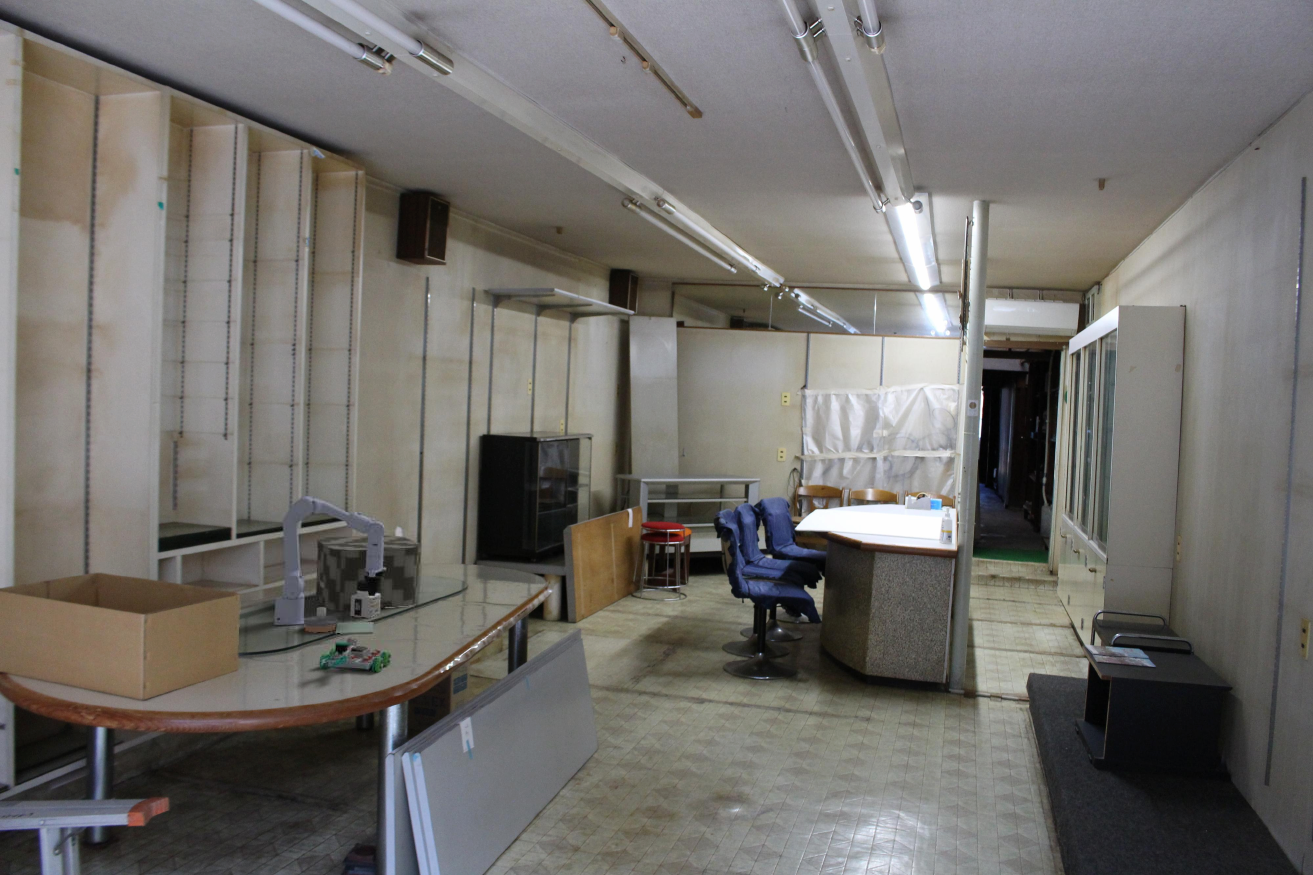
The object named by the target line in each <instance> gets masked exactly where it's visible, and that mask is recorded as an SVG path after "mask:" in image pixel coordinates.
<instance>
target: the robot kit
mask: <svg viewBox="0 0 1313 875" xmlns="http://www.w3.org/2000/svg"><path fill="white" fill-rule="evenodd" d="M334 645H335V646H334V647H333V648H331V649H330V651H329V653H322V654H321V655H320V658H319V662H318V663H319V668H320V669H329V668H330V667H336V668H338V667H339V668H350V669H351V668H352V669H365V670H370V668H371V669H372V672H373V673H375V672H376V673H380V672H382V670H383V667H388V665H389V666H390V664H391V661H392V653H391V652H389V651H383V652H382V651H381V649H378V648H375V649H374V650H372V651H371V648H370V647H367V646H361V645H358V640H357V638H354V637H353V636H352V637H351V636H350V637H348V638H347V639H346V641H337V642H335V643H334Z"/></svg>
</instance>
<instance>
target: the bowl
mask: <svg viewBox="0 0 1313 875" xmlns="http://www.w3.org/2000/svg"><path fill="white" fill-rule="evenodd" d="M336 627H337V623H336V624H333V625H327V626H310V625H306V624H305V628H304V629H305V632H307V631H308V633H312V632H313V634H318V633H317V632H327V633H329V632H328V631H331V632H333V631H332V630H335V631H336V629H335V628H336Z"/></svg>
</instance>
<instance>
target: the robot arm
mask: <svg viewBox="0 0 1313 875" xmlns="http://www.w3.org/2000/svg"><path fill="white" fill-rule="evenodd" d="M313 512H314V515H319V514H326V515H328V516H330V517H333V518H335V519H339V520H341V521H343V522H344V523H346V526H347V527H348V528H350V529H352V530H355V531H357V532H359V533H361V534H363V535H364V534H366V536H368V542H367V555H366V568H365V570H366V571H367V574H368V576H366V575H365V576H364V579H365V581H366V584H367V588H368V594H369V596H375V594H376V592H377V591H378V587H379V582H380V579H381V576H382V574H383V572H384V571H383V570H386V568H383V549H384V543H383V541H384V537H383V535H385V530H386V529H385V528H386V527H385V526H384V524H383V523H382V521H380V520H375V518H373V517H372V518H370V517H367V516H365V515H363V512H361V511H358V512H356V511H353V512H351V513H350V512H347V511H345V510H343V509H341V508H339V507H337V506H336V505H333V504H331V503H329V502H327V501H326V500H322V499H320V498H318V497H317V498H316V497H315V498H314V497H313V496H310V495H303V496H301V497H299V499H297V500H296V501H295V502H294V503H293V504H291V506H290V508H289V509H288V511H287V512H286V514H285V515H284V517H283V519H282V531H283V550H284V564H285V566H284V567H285V572H284V584H283V585H282V589H281V590H282V593H283V594H282V595H281V596H279V597H276V598H275V604H274V617H273V619H274V623H273V625H275V626H283V625H285V626H287V625H289V626H290V625H293V626H294V625H305V624H304V619H306V617H305V596H306V595H305V594H304V593H303V590H304V589H305V587H306V581H305V580H304V578H303V575H302V569H301V556H300V542H299V525H298V524H299V523H300V522H301V521H302V520H303V519H305V518H306V517H308V516H310V515H312V513H313Z"/></svg>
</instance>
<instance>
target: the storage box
mask: <svg viewBox="0 0 1313 875" xmlns="http://www.w3.org/2000/svg"><path fill="white" fill-rule="evenodd" d="M383 537H384V541H383V543H384V549H383V568H386V570H383V571H384V572H383V574H382V576H381V579H380V582H379V587H378V591H377V592H376V593H380V594H381V598H380V608H385V607H398V606H409V605H414V604H416V603H417V602H418V600H419V599H418V596H419V570H420V553H421V548H422V547H421V546H422V543H419V542H417V541H414V540H411V539H409V538H407V537H404V536H399V535H386V534H384V535H383ZM367 542H368V535H358V536H357V535H355V536H353V535H352V536H331V537H330V536H329V537H322V538H317V539H316V548H317V555H316V556H317V558H316V560H317V562H316V583H315V584H316V586H315V587H316V588H315V600H316V601H317V602H318V603H320V604H321V605H322V606H323V607H326V609H327V610H329V609H330V610H329V611H333V610H337V611H336V612H342V611H351V596H352V595H355V594H358V593H357V582H358V581H360V580H363V579H364V576H365V575H366V576H368V574H367V571H366V570H365V568H366V555H367ZM414 606H415V605H414Z"/></svg>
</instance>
